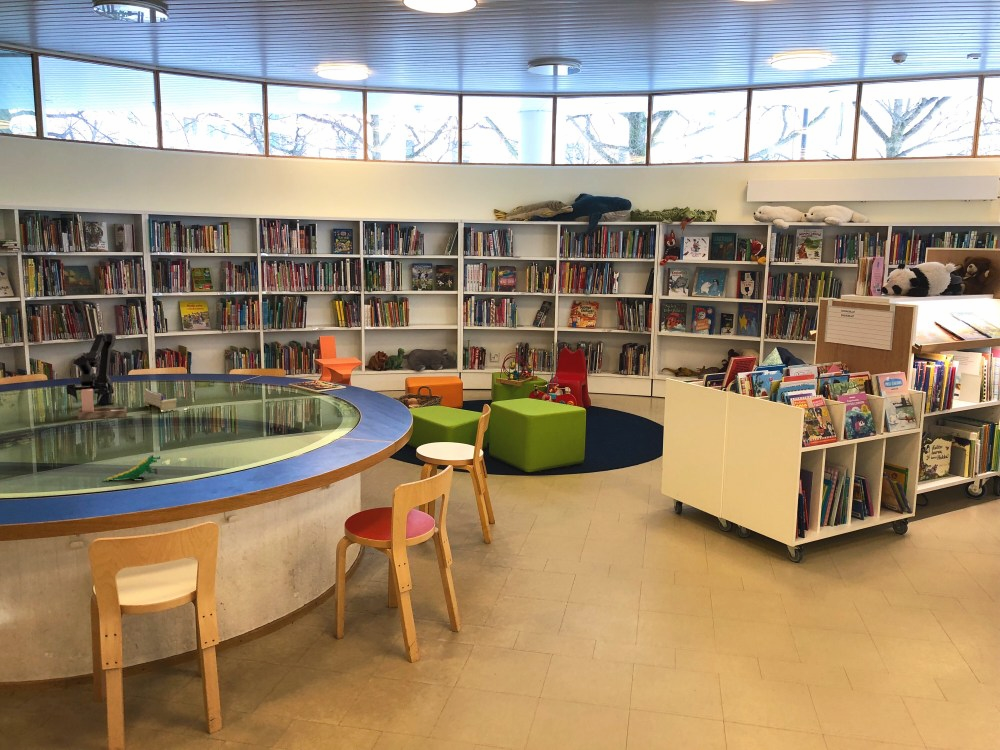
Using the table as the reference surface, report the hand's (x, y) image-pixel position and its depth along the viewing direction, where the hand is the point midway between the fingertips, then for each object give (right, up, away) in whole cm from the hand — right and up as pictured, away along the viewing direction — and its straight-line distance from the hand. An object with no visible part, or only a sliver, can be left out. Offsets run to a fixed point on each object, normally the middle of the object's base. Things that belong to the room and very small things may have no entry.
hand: (87, 402), depth 402 cm
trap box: (+5, -7, +5) cm, 11 cm away
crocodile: (+68, -26, -97) cm, 121 cm away
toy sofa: (+25, -5, +29) cm, 38 cm away
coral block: (-1, -6, +2) cm, 6 cm away
